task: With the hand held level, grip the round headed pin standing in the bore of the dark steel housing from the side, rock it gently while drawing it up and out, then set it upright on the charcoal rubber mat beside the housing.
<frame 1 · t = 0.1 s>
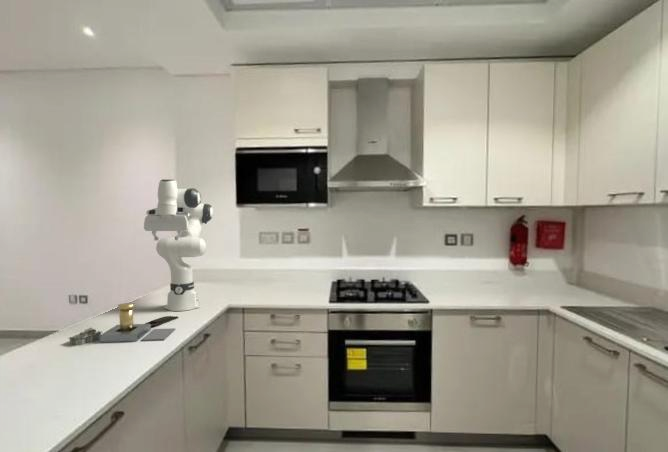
hand: (166, 240, 178), 39 cm above the worktop, tool pointing down, fingers open, 8 cm apart
wood: (157, 324, 174), on the worktop
egg carton: (86, 341, 150), on the worktop
round headed pin: (126, 320, 155), in the housing
mat: (158, 335, 156), on the worktop
housing: (126, 336, 155), on the worktop
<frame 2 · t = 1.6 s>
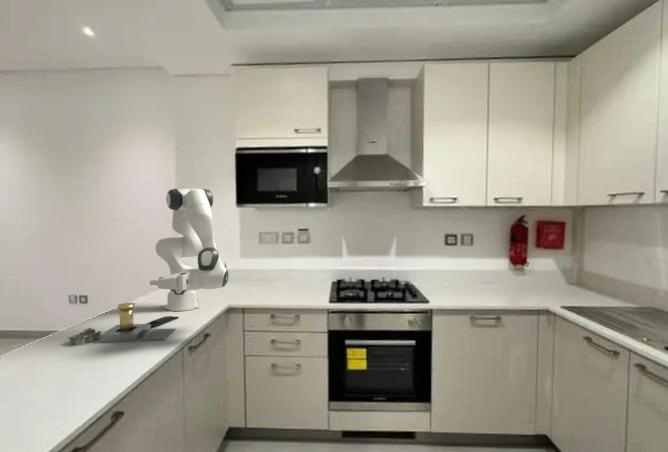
hand: (155, 280, 156), 23 cm above the worktop, tool horizontal, fingers open, 8 cm apart
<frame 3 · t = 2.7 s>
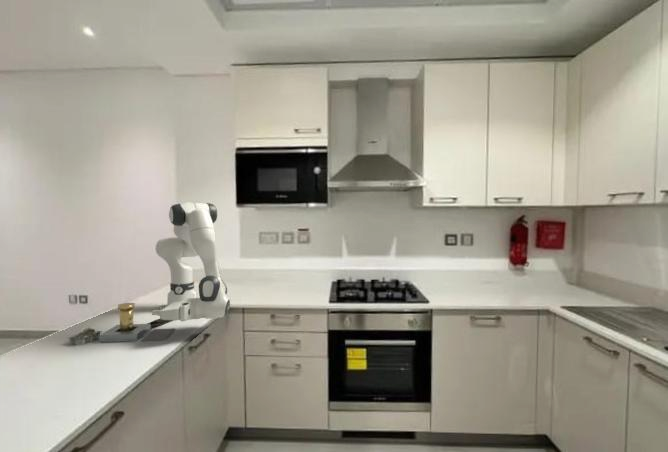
hand: (156, 309, 156), 11 cm above the worktop, tool horizontal, fingers open, 8 cm apart
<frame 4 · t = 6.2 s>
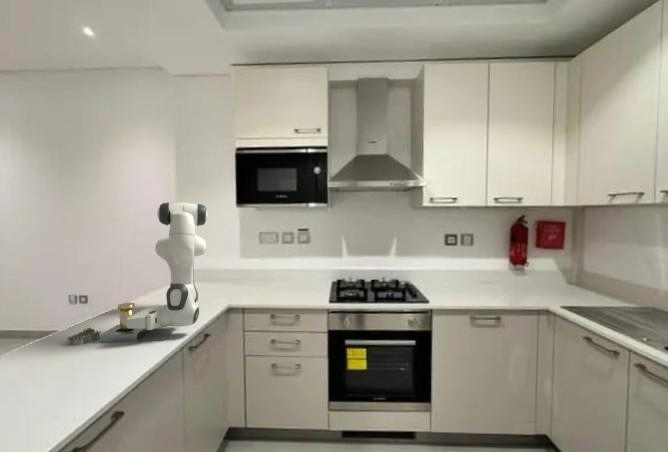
hand: (124, 317, 155), 8 cm above the worktop, tool horizontal, fingers closed on round headed pin, 5 cm apart
round headed pin: (126, 320, 155), in the housing, touching gripper
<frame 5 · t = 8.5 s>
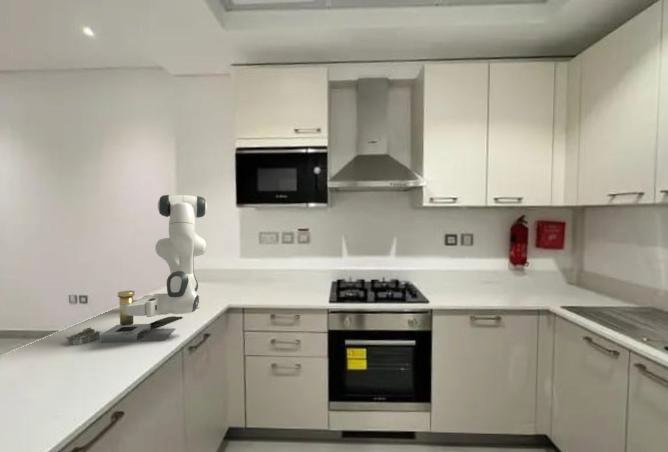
hand: (124, 304, 155), 13 cm above the worktop, tool horizontal, fingers closed on round headed pin, 5 cm apart
round headed pin: (126, 307, 155), point 12 cm above the worktop, touching gripper
when the fingers open (10 cm above the worktop, at t = 12.3 s): round headed pin drops 1 cm, resting on mat.
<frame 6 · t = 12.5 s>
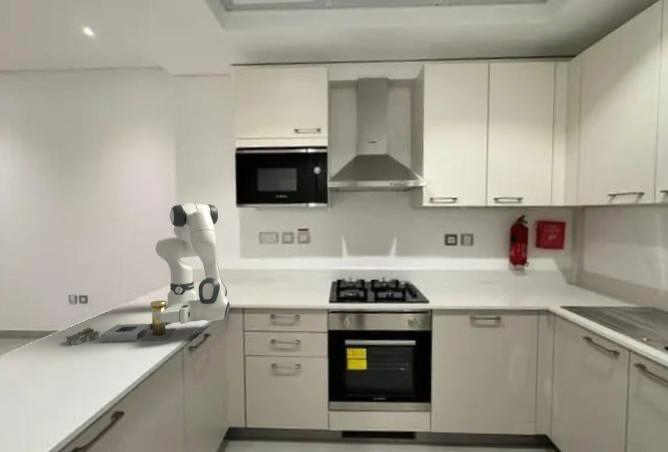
hand: (156, 311, 156), 10 cm above the worktop, tool horizontal, fingers open, 7 cm apart
round headed pin: (158, 317, 156), on the mat, point 7 cm above the worktop
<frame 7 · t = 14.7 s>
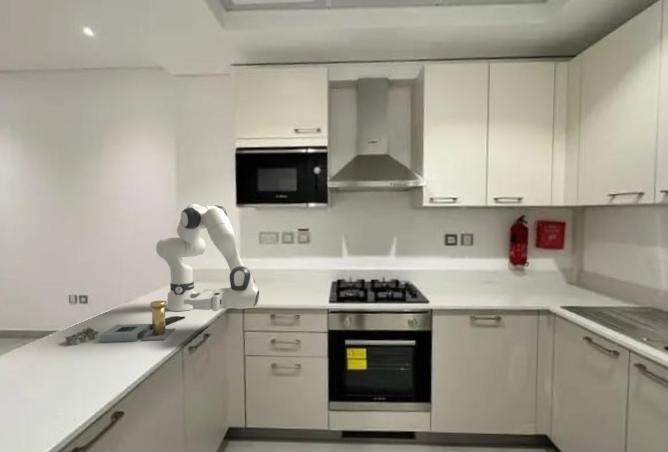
hand: (187, 298, 158), 15 cm above the worktop, tool horizontal, fingers open, 8 cm apart
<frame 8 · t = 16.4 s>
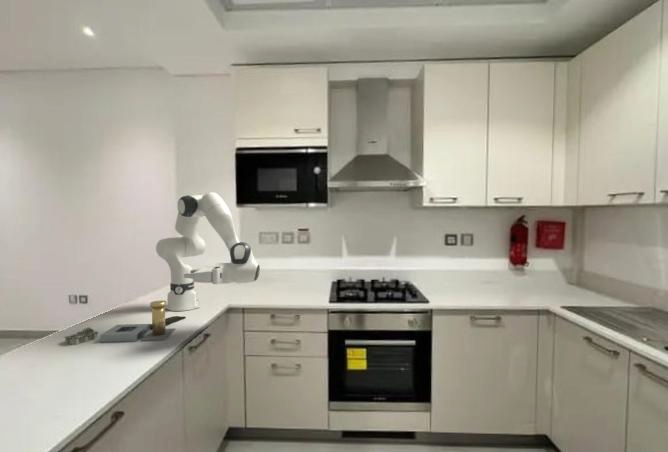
hand: (187, 273, 157), 26 cm above the worktop, tool horizontal, fingers open, 8 cm apart
at the end: round headed pin inside the target area on the mat (0.1 cm from its centre), point 7.4 cm above the mat's base; round headed pin tilted 0°; round headed pin touching mat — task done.
